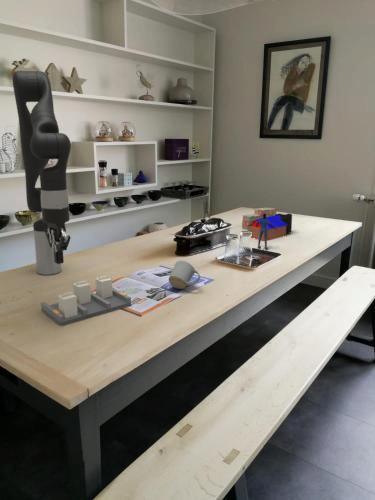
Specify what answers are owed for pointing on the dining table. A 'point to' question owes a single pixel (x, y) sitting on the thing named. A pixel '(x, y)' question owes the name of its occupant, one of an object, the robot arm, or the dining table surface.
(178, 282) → the ceramic mug
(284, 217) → the pen holder
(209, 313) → the dining table surface
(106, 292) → the white rectangular block
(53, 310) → the switch bank
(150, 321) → the dining table surface
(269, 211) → the stack of blocks
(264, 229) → the person figurine
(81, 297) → the off-white rectangular block
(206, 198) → the pliers
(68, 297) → the cream upright block
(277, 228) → the house
